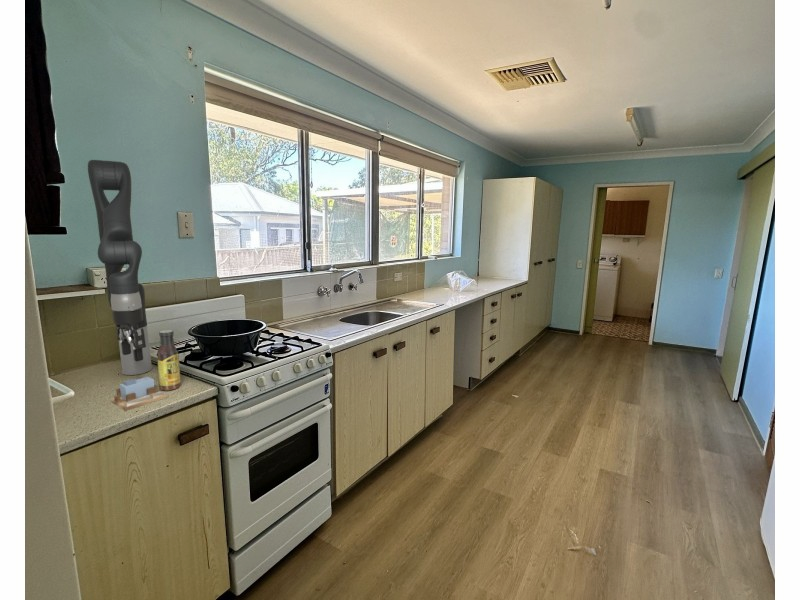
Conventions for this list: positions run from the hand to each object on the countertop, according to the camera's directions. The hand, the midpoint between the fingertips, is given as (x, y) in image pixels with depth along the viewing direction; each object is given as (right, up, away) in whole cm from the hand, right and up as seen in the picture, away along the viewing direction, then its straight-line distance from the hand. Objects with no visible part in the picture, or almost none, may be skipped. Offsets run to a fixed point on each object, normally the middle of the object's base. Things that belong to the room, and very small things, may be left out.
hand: (132, 357), depth 121 cm
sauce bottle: (+5, -12, +11) cm, 17 cm away
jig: (0, -13, +2) cm, 14 cm away
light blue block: (0, -12, +3) cm, 13 cm away
